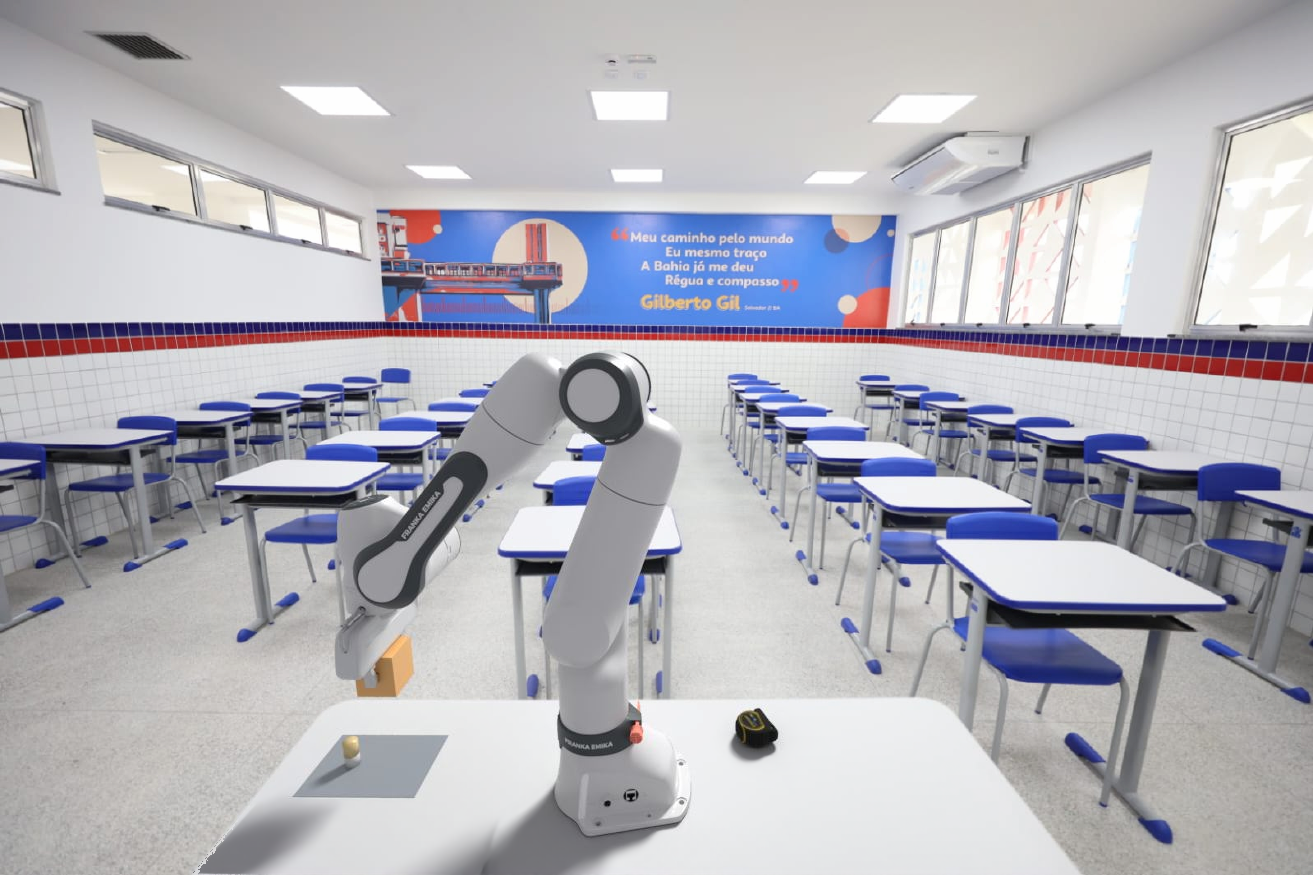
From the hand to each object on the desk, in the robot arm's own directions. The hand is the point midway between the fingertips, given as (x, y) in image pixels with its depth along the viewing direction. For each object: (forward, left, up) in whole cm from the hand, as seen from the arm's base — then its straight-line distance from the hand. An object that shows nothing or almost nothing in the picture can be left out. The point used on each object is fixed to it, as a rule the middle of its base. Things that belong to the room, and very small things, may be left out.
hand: (385, 670), depth 94 cm
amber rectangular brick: (0, 0, -3) cm, 3 cm away
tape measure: (-63, -9, -20) cm, 67 cm away
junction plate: (+4, 0, -19) cm, 20 cm away
